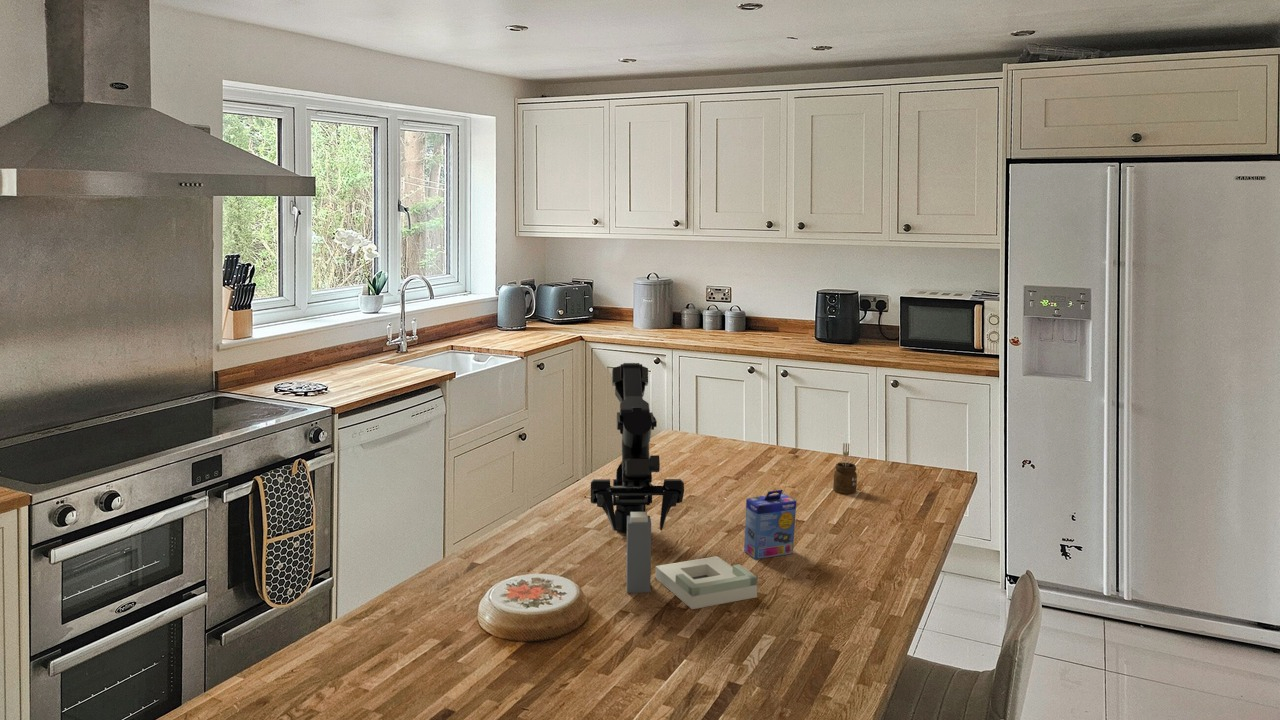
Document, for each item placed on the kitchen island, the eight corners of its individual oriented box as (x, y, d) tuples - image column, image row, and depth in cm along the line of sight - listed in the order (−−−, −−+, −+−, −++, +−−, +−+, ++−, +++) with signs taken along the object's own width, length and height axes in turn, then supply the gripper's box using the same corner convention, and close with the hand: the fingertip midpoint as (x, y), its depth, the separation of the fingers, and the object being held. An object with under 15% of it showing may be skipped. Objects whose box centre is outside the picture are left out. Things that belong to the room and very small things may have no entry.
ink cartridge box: (755, 560, 205) (758, 494, 202) (742, 551, 210) (744, 487, 207) (795, 554, 209) (798, 489, 206) (781, 545, 214) (783, 482, 211)
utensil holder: (833, 493, 250) (835, 448, 248) (832, 486, 257) (834, 442, 254) (856, 495, 250) (859, 450, 247) (855, 488, 256) (857, 443, 254)
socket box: (655, 577, 195) (655, 558, 194) (716, 567, 201) (717, 548, 200) (691, 609, 181) (692, 588, 180) (756, 597, 186) (757, 577, 186)
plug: (626, 583, 192) (626, 510, 190) (648, 583, 192) (649, 510, 190) (627, 592, 188) (627, 518, 185) (650, 592, 188) (651, 518, 185)
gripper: (590, 440, 193) (590, 511, 184) (684, 440, 194) (688, 511, 185) (590, 468, 202) (590, 536, 193) (679, 467, 203) (684, 536, 194)
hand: (638, 529), depth 191 cm, fingers open, 9 cm apart
